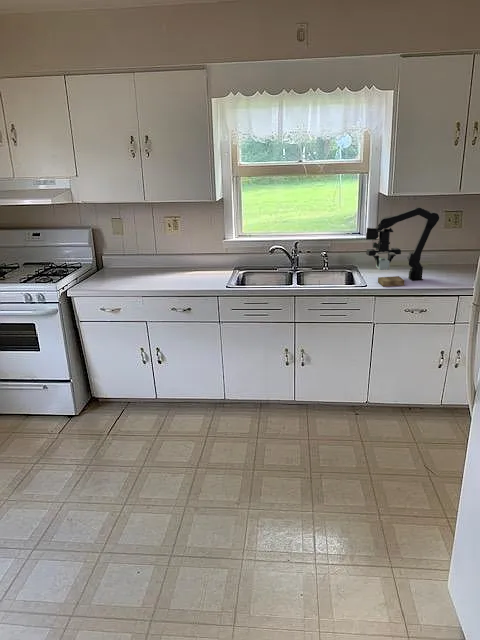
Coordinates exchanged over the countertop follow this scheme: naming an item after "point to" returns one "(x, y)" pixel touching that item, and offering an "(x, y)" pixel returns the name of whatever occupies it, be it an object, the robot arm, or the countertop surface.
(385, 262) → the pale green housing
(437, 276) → the countertop surface
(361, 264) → the countertop surface
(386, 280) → the walnut stand
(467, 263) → the countertop surface
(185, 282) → the countertop surface
